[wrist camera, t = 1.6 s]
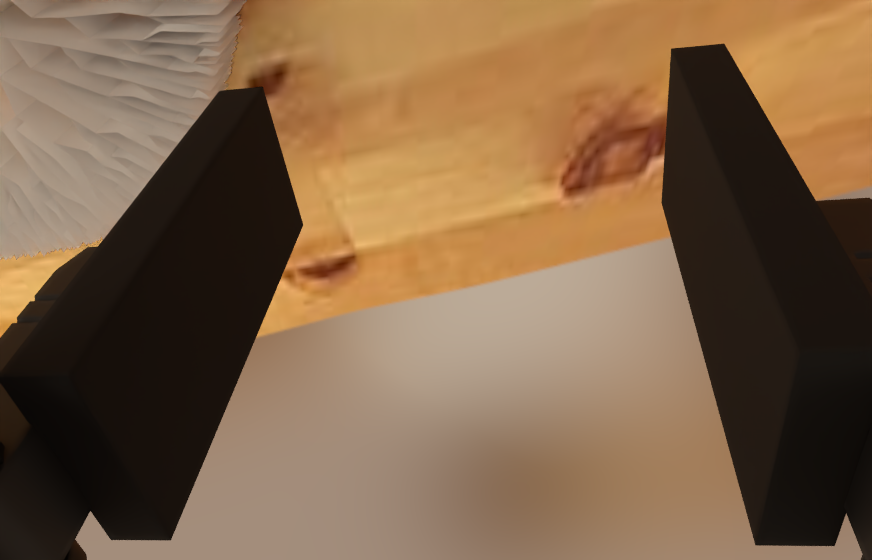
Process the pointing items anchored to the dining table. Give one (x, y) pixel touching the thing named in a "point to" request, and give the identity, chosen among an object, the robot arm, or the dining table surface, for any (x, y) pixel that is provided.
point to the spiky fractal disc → (98, 107)
